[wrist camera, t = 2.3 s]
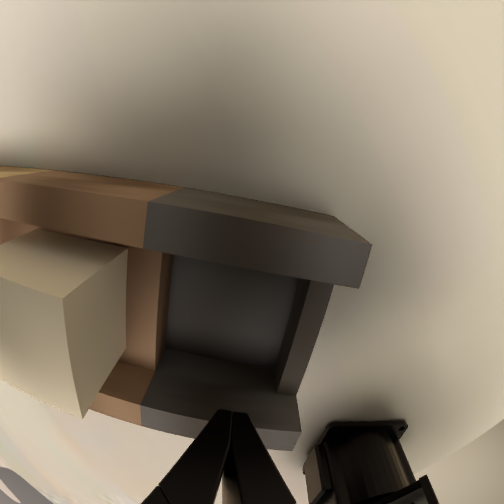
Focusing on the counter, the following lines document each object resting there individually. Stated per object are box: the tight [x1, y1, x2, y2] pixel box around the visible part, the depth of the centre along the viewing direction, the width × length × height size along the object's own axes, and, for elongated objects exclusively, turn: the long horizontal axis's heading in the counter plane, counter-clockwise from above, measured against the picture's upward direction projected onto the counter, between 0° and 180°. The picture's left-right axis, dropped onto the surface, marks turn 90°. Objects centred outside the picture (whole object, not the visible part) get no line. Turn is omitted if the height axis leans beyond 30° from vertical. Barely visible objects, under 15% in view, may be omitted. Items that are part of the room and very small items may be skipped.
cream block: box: [0, 229, 128, 419], centre depth 10 cm, size 5×5×5 cm
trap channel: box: [0, 166, 372, 451], centre depth 12 cm, size 23×10×5 cm, turn 79°
